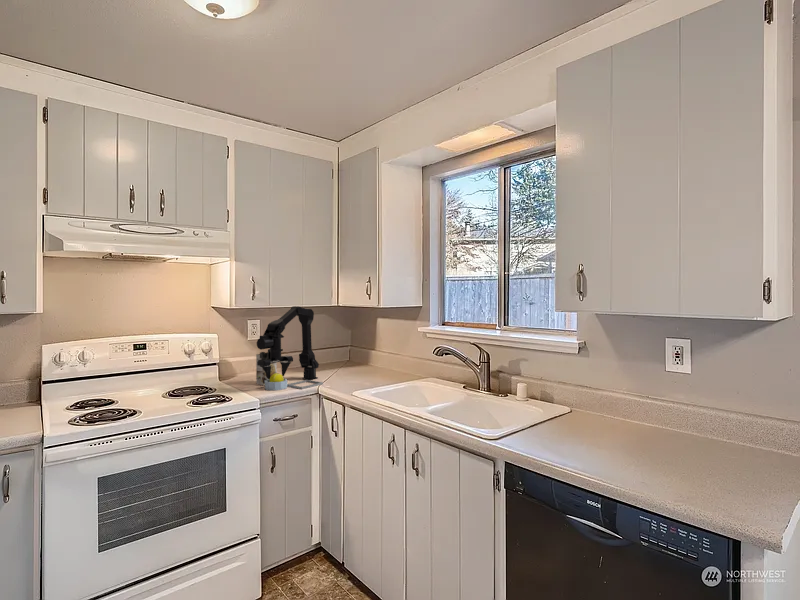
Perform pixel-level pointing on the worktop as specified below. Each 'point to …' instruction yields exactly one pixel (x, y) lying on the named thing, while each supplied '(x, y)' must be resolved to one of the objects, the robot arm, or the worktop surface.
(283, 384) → the bowl
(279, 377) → the tennis ball
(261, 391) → the worktop surface
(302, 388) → the grey square frame
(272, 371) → the coffee box
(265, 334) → the robot arm
